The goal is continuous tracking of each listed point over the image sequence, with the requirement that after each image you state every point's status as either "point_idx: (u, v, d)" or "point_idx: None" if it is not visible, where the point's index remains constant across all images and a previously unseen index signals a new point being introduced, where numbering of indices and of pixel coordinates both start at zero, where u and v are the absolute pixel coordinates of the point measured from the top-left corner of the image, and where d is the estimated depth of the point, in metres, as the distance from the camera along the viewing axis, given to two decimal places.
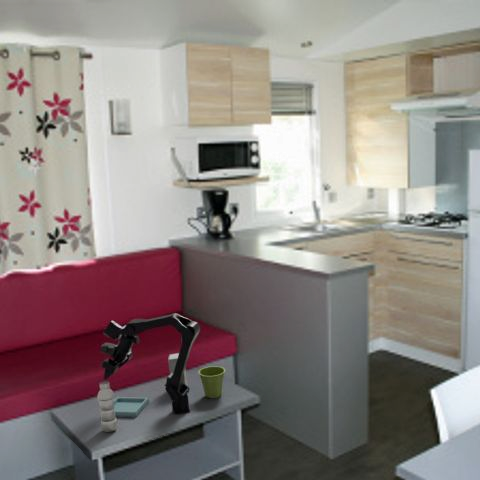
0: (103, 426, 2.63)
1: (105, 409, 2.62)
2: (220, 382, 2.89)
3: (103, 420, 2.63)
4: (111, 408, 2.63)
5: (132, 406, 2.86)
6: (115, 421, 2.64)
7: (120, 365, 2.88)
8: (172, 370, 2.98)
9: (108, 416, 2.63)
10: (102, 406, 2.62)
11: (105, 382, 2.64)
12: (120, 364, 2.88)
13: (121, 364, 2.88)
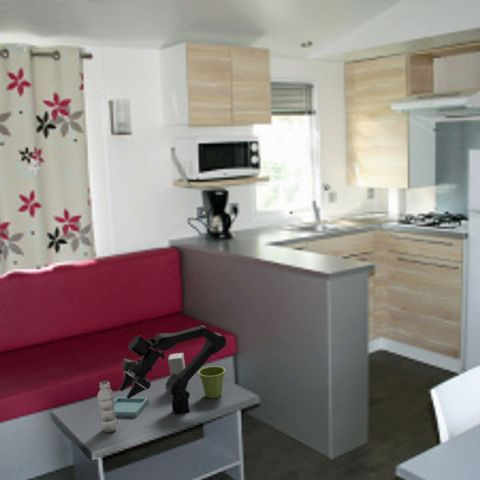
0: (103, 426, 2.63)
1: (105, 409, 2.62)
2: (220, 382, 2.89)
3: (103, 420, 2.63)
4: (111, 408, 2.63)
5: (132, 406, 2.86)
6: (115, 421, 2.64)
7: (128, 384, 2.73)
8: (172, 370, 2.98)
9: (108, 416, 2.63)
10: (102, 406, 2.62)
11: (105, 382, 2.64)
12: (129, 383, 2.73)
13: (130, 382, 2.73)
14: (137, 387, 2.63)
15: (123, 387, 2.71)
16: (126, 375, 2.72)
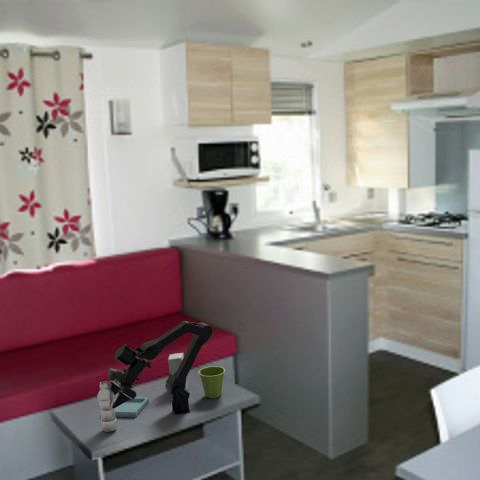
0: (103, 426, 2.63)
1: (105, 409, 2.62)
2: (220, 382, 2.89)
3: (103, 420, 2.63)
4: (111, 408, 2.63)
5: (132, 406, 2.86)
6: (115, 421, 2.64)
7: (114, 393, 2.70)
8: (172, 370, 2.98)
9: (108, 416, 2.63)
10: (102, 406, 2.62)
11: (105, 382, 2.64)
12: (115, 392, 2.70)
13: (116, 392, 2.71)
14: (123, 397, 2.61)
15: None
16: (112, 384, 2.70)
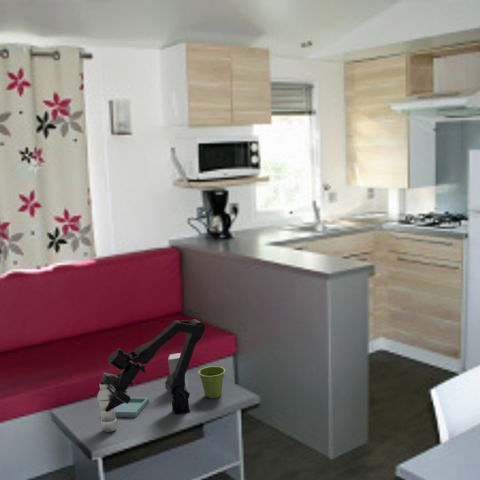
0: (103, 426, 2.63)
1: (105, 409, 2.62)
2: (220, 382, 2.89)
3: (103, 420, 2.63)
4: None
5: (132, 406, 2.86)
6: (115, 421, 2.64)
7: None
8: (172, 370, 2.98)
9: (108, 416, 2.62)
10: (102, 406, 2.62)
11: None
12: None
13: None
14: (116, 400, 2.61)
15: None
16: None
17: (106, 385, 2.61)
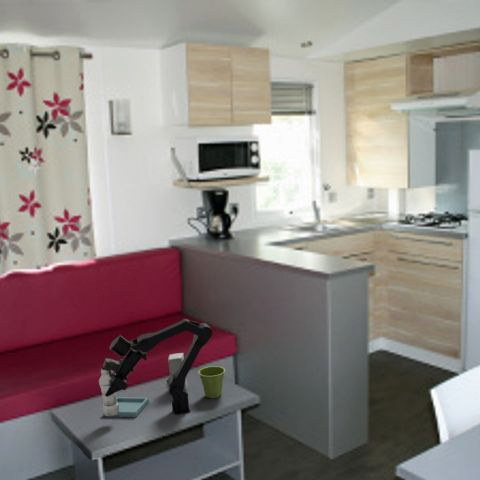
0: (104, 410, 2.69)
1: (105, 393, 2.68)
2: (220, 382, 2.89)
3: (104, 404, 2.69)
4: None
5: (132, 406, 2.86)
6: (116, 406, 2.69)
7: None
8: (172, 370, 2.98)
9: (108, 401, 2.68)
10: (103, 391, 2.68)
11: None
12: None
13: None
14: (115, 386, 2.66)
15: None
16: None
17: (106, 370, 2.67)
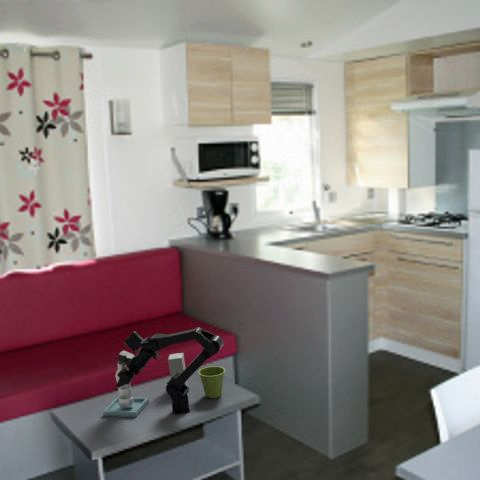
0: (118, 402, 2.84)
1: None
2: (220, 382, 2.89)
3: None
4: (124, 387, 2.81)
5: (132, 406, 2.86)
6: (128, 400, 2.82)
7: (132, 375, 2.86)
8: (172, 370, 2.98)
9: (121, 394, 2.82)
10: None
11: None
12: (132, 374, 2.86)
13: None
14: None
15: None
16: None
17: (120, 365, 2.80)
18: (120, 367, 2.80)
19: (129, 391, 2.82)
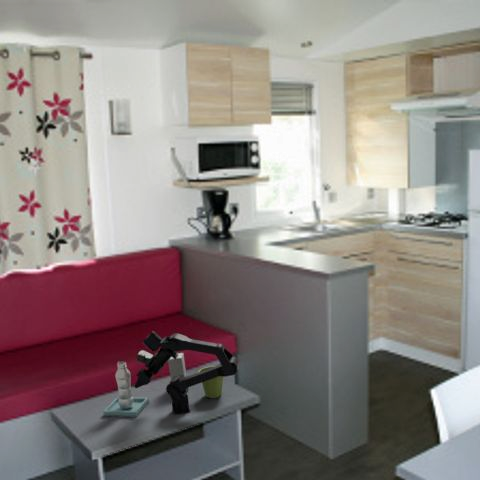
0: (118, 402, 2.84)
1: (119, 386, 2.82)
2: (220, 382, 2.89)
3: None
4: (124, 388, 2.81)
5: (132, 406, 2.86)
6: (128, 400, 2.82)
7: None
8: (172, 370, 2.98)
9: (121, 394, 2.82)
10: (117, 383, 2.82)
11: (124, 362, 2.83)
12: (151, 373, 2.85)
13: (152, 373, 2.85)
14: None
15: None
16: None
17: (120, 365, 2.80)
18: (120, 367, 2.80)
19: (129, 391, 2.82)
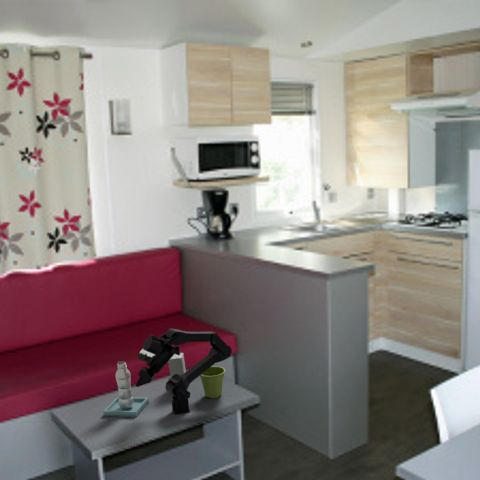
0: (118, 402, 2.84)
1: (119, 386, 2.82)
2: (220, 382, 2.89)
3: None
4: (124, 388, 2.81)
5: (132, 406, 2.86)
6: (128, 400, 2.82)
7: None
8: (172, 370, 2.98)
9: (121, 394, 2.82)
10: (117, 383, 2.82)
11: (124, 362, 2.83)
12: None
13: (153, 372, 2.82)
14: None
15: None
16: None
17: (120, 365, 2.80)
18: (120, 367, 2.80)
19: (129, 391, 2.82)
